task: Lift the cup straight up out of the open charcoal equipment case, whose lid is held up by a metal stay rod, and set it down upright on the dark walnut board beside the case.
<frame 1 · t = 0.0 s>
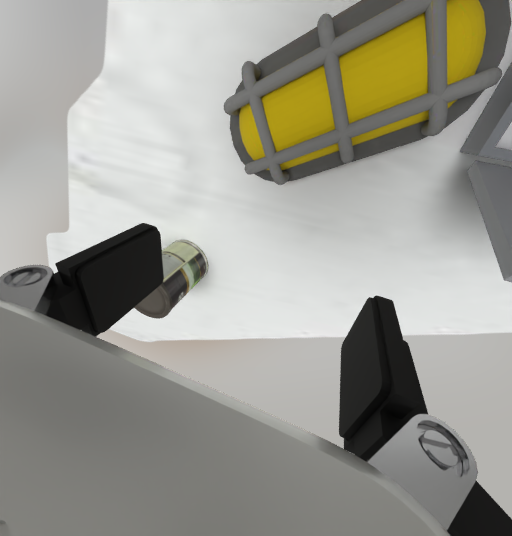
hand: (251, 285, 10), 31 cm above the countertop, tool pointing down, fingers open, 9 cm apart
coffee can: (188, 259, 53), on the countertop
cage light: (340, 101, 31), on the countertop
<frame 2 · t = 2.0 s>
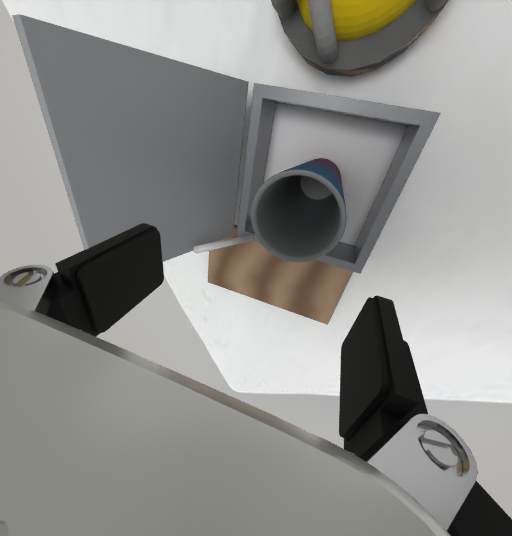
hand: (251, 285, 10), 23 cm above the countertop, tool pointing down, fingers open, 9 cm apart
walnut board: (272, 271, 38), on the countertop
equipment case: (318, 180, 29), on the countertop
case lid: (173, 176, 21), point 13 cm above the countertop, hinge at 110.0°
cup: (319, 180, 29), resting in equipment case
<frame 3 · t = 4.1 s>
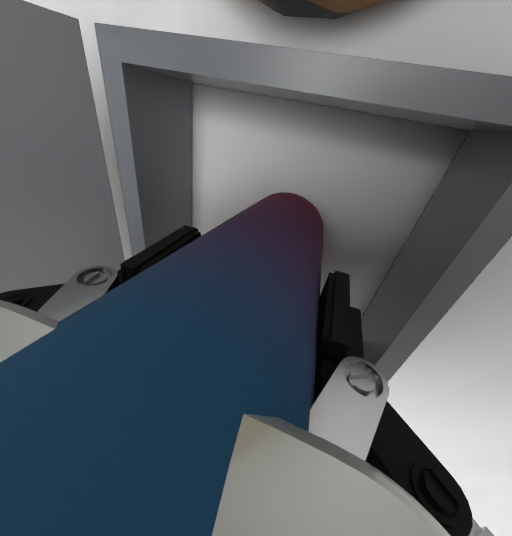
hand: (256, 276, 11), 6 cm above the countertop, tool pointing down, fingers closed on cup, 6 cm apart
equipment case: (284, 230, 16), on the countertop
cup: (285, 229, 16), resting in equipment case, touching gripper
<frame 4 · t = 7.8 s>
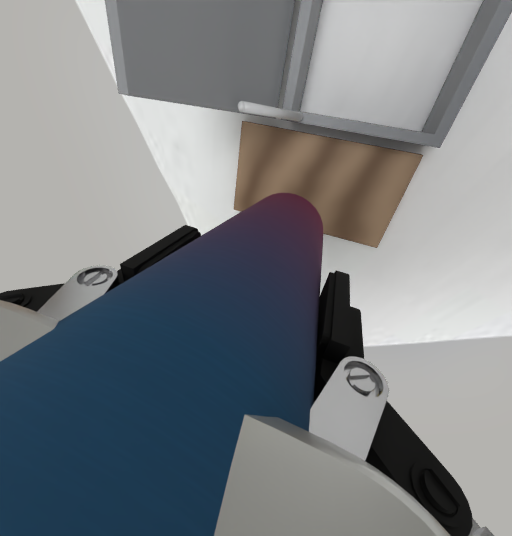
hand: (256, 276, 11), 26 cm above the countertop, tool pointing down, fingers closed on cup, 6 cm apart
walnut board: (313, 185, 32), on the countertop
equipment case: (383, 41, 23), on the countertop
cup: (285, 229, 16), point 20 cm above the countertop, touching gripper
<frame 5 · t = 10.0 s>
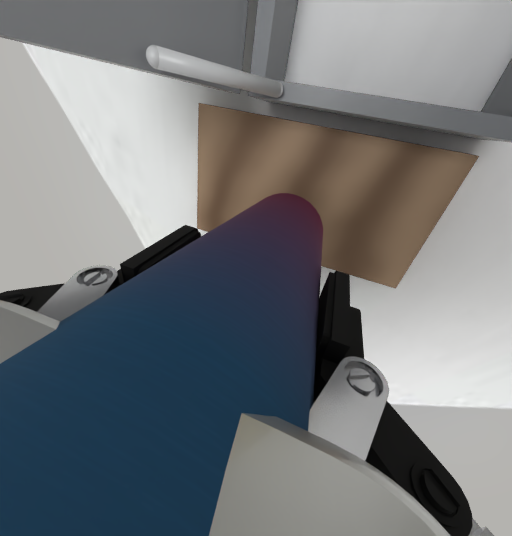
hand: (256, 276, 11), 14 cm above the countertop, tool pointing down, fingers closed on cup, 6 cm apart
walnut board: (304, 198, 22), on the countertop
cup: (285, 230, 16), point 8 cm above the countertop, touching gripper
when the fingers open (8 cm above the countertop, at t = 11.8 s): cup stays where it is, resting on walnut board.
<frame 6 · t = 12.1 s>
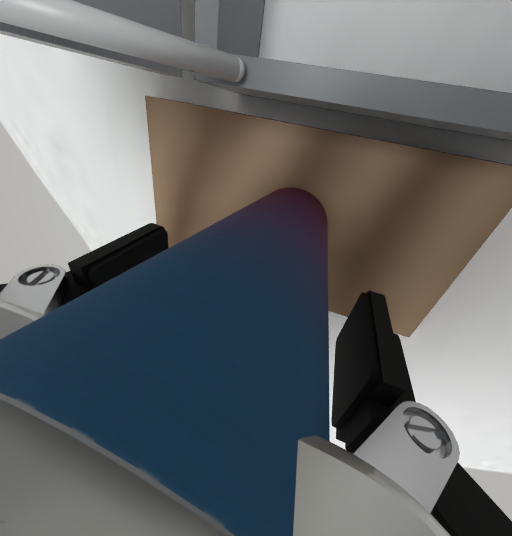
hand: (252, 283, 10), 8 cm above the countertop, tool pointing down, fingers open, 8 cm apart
walnut board: (290, 221, 17), on the countertop
cup: (290, 223, 16), point 1 cm above the countertop, touching walnut board
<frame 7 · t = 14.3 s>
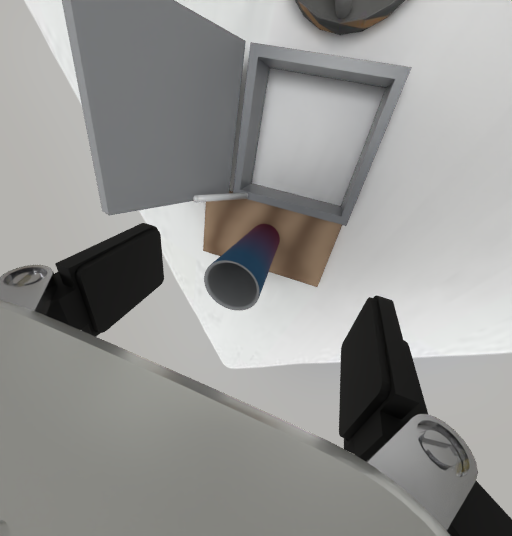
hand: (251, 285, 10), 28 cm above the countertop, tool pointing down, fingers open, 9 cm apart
walnut board: (265, 236, 40), on the countertop
equipment case: (308, 142, 31), on the countertop
case lid: (177, 121, 23), point 13 cm above the countertop, hinge at 110.0°
cup: (265, 237, 39), point 1 cm above the countertop, touching walnut board
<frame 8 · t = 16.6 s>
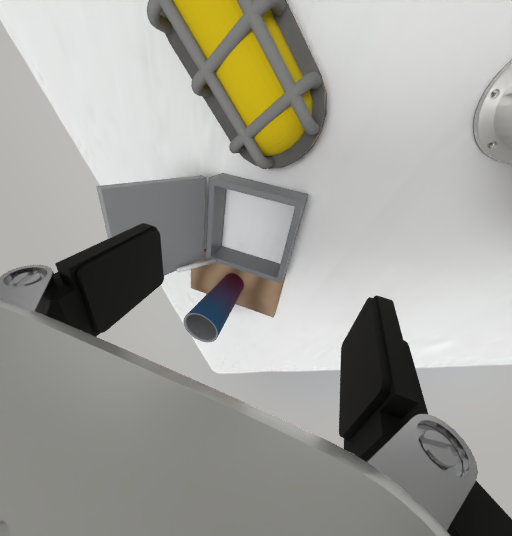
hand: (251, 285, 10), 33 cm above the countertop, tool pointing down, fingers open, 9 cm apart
walnut board: (234, 280, 54), on the countertop
equipment case: (256, 224, 46), on the countertop
case lid: (163, 231, 38), point 13 cm above the countertop, hinge at 110.0°
cup: (234, 282, 54), point 1 cm above the countertop, touching walnut board
cage light: (249, 62, 34), on the countertop
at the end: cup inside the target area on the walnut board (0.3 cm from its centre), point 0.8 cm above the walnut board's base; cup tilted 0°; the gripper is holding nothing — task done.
